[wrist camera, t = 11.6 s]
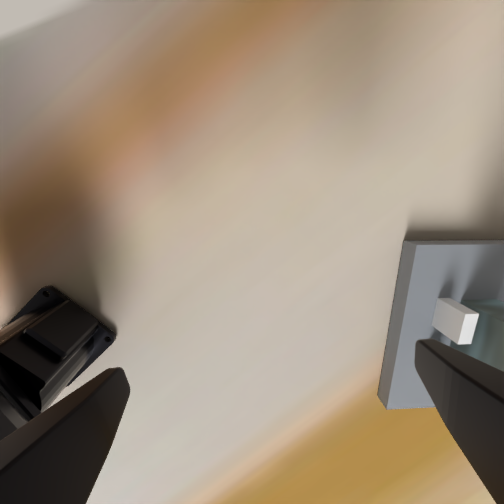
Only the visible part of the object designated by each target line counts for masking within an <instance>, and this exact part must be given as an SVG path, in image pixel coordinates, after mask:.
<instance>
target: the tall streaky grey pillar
mask: <svg viewBox="0 0 504 504" xmlns="http://www.w3.org/2000/svg"><path fill="white" fill-rule="evenodd" d="M460 304H462V305H464V306H466V307H467V308H469V309H471V310H473V311H475V312H477V313H479V316H478V320H477V324H476V327H475V331H474V335H473V338H472V342H471V344H456V343H455V342H454V341H452V340H451V343H450V347H452V348H454V349H456V350H459V351H461V352H463V353H465V354H467V355H469V356H471V357H474V358H476V359H478V360H480V361H482V362H484V363H487V364H489V365H491V366H493V367H495V368H497V369H500V370H502V371H504V302H502V301H500V300H497V299H481V300H461V302H460Z"/></svg>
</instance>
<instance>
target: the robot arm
mask: <svg viewBox="0 0 504 504" xmlns="http://www.w3.org/2000/svg"><path fill="white" fill-rule="evenodd" d="M47 291H48V292H49V293H50V295H49V294H48V293H47ZM107 337H110V338H111V339H108V338H107ZM115 339H116V334H115V333H114V332H113V331H111V330H110V329H109V328H107V327H106V326H105V325H103V324H102V323H101V322H99V321H98V320H97V319H96V318H94V317H93V316H92V315H90V314H89V313H88V312H86V311H85V310H84V309H82V308H81V307H80V306H78V305H77V304H76V303H74V302H73V301H72V300H70V299H69V298H68V297H66V296H65V295H64V294H62V293H61V292H60V291H58V290H57V289H56V288H54V287H53V286H45V287H43V288H42V289H40V290H39V291H38V292H37V294H36V295H35V296H34V297H33V298H32V299H31V300H30V301H29V302H28V303H27V304H26V305H25V306H24V308H23V309H22V310H21V311H20V312H19V313H18V314H17V315H16V316H15V317H14V318H13V319H12V320H11V322H10V323H9V324H8V325H7V326H6V327H4V328H3V329H1V330H0V504H86V502H87V500H88V498H89V495H90V493H91V491H92V489H93V487H94V484H95V482H96V480H97V478H98V475H99V473H100V471H101V469H102V467H103V464H104V462H105V460H106V458H107V455H108V453H109V451H110V448H111V446H112V443H113V440H114V438H115V435H116V432H117V429H118V426H119V424H120V421H121V418H122V415H123V412H124V409H125V407H126V404H127V401H128V398H129V395H130V386H129V383H128V380H127V378H126V375H125V372H124V370H123V369H122V368H120V367H116V368H109V369H106V370H105V371H103V372H102V373H100V374H99V375H97V376H96V377H95V378H93V379H92V380H90V381H89V382H87V383H86V384H84V385H83V386H81V387H80V388H78V389H77V390H75V391H74V392H72V393H71V394H69V395H68V396H66V397H65V398H63V399H62V400H60V401H59V402H57V403H56V404H54V405H53V406H51V407H50V408H48V407H49V406H50V405H51V404H52V402H53V401H54V400H55V399H56V398H57V396H58V395H59V394H60V393H61V392H62V390H63V389H64V388H65V387H67V386H69V385H70V384H71V383H72V382H73V381H74V380H75V379H76V378H77V377H78V376H79V375H80V374H81V373H82V372H83V371H84V370H85V369H86V368H88V367H89V366H90V365H91V364H92V363H93V362H94V361H95V360H96V359H97V358H98V357H99V356H100V355H101V354H102V353H103V352H104V351H105V350H106V349H107V348H108V347H109V346H110V345H111V344H112V343H113V342H114V341H115ZM414 364H415V368H416V371H417V373H418V375H419V377H420V379H421V381H422V382H423V384H424V386H425V388H426V390H427V392H428V394H429V396H430V397H431V399H432V401H433V403H434V405H435V407H436V409H437V411H438V412H439V414H440V416H441V418H442V420H443V422H444V423H445V425H446V427H447V428H448V430H449V432H450V433H451V435H452V436H453V438H454V440H455V441H456V443H457V444H458V446H459V447H460V449H461V450H462V452H463V453H464V455H465V456H466V458H467V459H468V461H469V462H470V464H471V465H472V467H473V469H474V470H475V472H476V473H477V475H478V476H479V478H480V479H481V481H482V482H483V484H484V485H485V487H486V488H487V490H488V491H489V493H490V494H491V496H492V498H493V499H494V501H495V502H496V504H504V371H502V370H500V369H497V368H495V367H493V366H491V365H489V364H487V363H484V362H482V361H480V360H478V359H476V358H474V357H471V356H469V355H467V354H465V353H463V352H461V351H459V350H456V349H454V348H452V347H450V346H448V345H446V344H443V343H441V342H439V341H437V340H435V339H432V338H429V339H419V340H417V341H416V343H415V359H414ZM47 408H48V409H47Z"/></svg>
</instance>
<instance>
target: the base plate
mask: <svg viewBox="0 0 504 504" xmlns="http://www.w3.org/2000/svg"><path fill="white" fill-rule="evenodd" d="M481 299H497V300H500V301H502V302H504V240H404V242H403V248H402V254H401V260H400V265H399V271H398V277H397V283H396V289H395V295H394V301H393V307H392V313H391V319H390V325H389V331H388V336H387V342H386V348H385V354H384V360H383V366H382V372H381V378H380V384H379V390H378V397H379V399H380V400H381V402H382V403H383V405H384V406H385V408H386V409H407V408H427V407H435V405H434V403H433V401H432V399H431V397H430V396H429V394H428V392H427V390H426V388H425V386H424V384H423V382H422V381H421V379H420V377H419V375H418V373H417V371H416V368H415V364H414V359H415V343H416V341H417V340H419V339H429V338H432V339H435V340H437V341H439V342H441V343H443V344H446V345H448V346H450V343H451V340H452V341H454V342H455V343H456V344H471V342H472V338H473V335H474V331H475V327H476V324H477V320H478V316H479V313H477V312H475V311H473V310H471V309H469V308H467V307H466V306H464V305H462V304H460V302H461V300H481Z"/></svg>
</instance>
